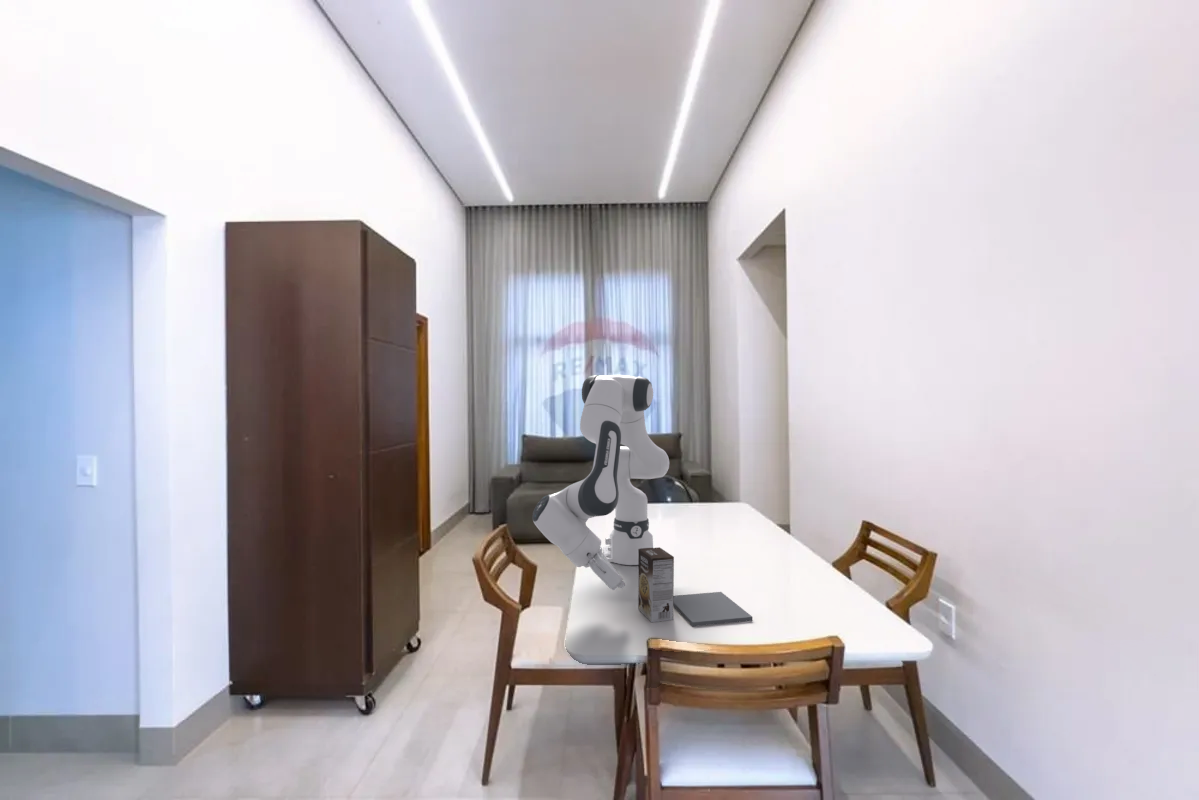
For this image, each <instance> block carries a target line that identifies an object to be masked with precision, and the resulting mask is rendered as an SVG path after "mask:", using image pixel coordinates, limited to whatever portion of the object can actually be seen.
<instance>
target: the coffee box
mask: <svg viewBox="0 0 1199 800" xmlns="http://www.w3.org/2000/svg"><path fill="white" fill-rule="evenodd" d="M638 553H639V557H638V565H637V566H638V590H637V591H638V597H637V598H638V603H637V604H638V611H640V612H641V613H642V614H643V616H645V618H646V619H647V620H648V621H650V622H651V623H659V622H664V621H673V620H674V606H673V596H674V587H675V586H674V583H675V582H674V579H675V578H674V577H675V574H674V573H675V572H674V571H675V569H674V568H675V560H674V559H675V556H673V555H672V554H670V553H669V552H667V551H666V550H664V549H663V548H661V547H653V548H641V549H638Z"/></svg>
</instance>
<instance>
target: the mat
mask: <svg viewBox="0 0 1199 800" xmlns="http://www.w3.org/2000/svg"><path fill="white" fill-rule="evenodd" d="M673 608H674V609H675V610H676V611H677V612H678V613H679V614H680V615H681V616H682V617H683V619H685V620H686V621H687V622H688V623H689V624H690V625H691V627H702V626H712V625H722V624H734V623H742V622H752V621H753V616H752V614H749V612H747V611H746V610H745V609H743V608H742V607H741V606H740V605H738V604H737V603H736V602H735V601H734V600H732V599H731V598H729V597H728V596H727V595H726V594H725V593H723V592H722V591H714V592H702V593H701V592H700V593H689V594H688V593H687V594H679V595H678V594H677V595H676V594H675V595H673Z"/></svg>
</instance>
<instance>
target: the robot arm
mask: <svg viewBox="0 0 1199 800" xmlns="http://www.w3.org/2000/svg"><path fill="white" fill-rule="evenodd" d="M581 387H582V388H581V398H582V402H583V404H584V406H583V409H582V412H581V416H580V421H579V422H580V423H579V426H580V427H579V429H580V432H581V434H582V435H583V436H584V438H585V439H586V440H588V441H589V442H591V443H593V444H595V451H594V457H593V463H592V469H591V471H590V473H589V474H588V475H587V476H586V477H585V478H583V479H582V480H579V481H576V482H574V483H572V484H570V485H568V486H566V487H565V488H563V489H561V490H560V491H557V492H555V493H552V494H547V495H544V496H543V497H542V498H541V499H540V500H539V502H537V503H536V505H535V508H534V510H533V511H532V516H531V517H532V521H533V524H534V525H535V526H536V528H537V530H539V532H540V533H542V535H543V536H544V537H545V538H546V539H547V540H548V541H549V542H550V543H551V544H553V545H555V546H556V547H558V548H559V549H560V551H561V552H562V554H563V555H564V556H565V557H566V558H567V559H568V560H569V561H570V562H571V563H572V564H573V565H574V566H575V567H577V568H581V567H584V568H585V569H586V568H589V567H590V569H591V570H592V572H593V573H594V574H595V576H597V577H598V578H599V579H600V580H601V581H602V583H604V584H605V586H607V587H608V588H609V589H611V590H612V591H615V590H616V589H617V588H619V589H620V590H622V589H623V588H624V586H625V585H626V582H624V579H623V577H622V576H621V574H619V571H617V569H616V568H615V567H614V566H613V564H612V563H615V564H618V565H623V566H625V565H626V566H638V557H639V553H638V549H641V548H654V535H653V534H652V533H651V532H650V531H649V529H650V520H649V518H648V497H647V495H646V493H644V492H643V490H641V489H639V488H637V487H635V486H634V485H633V484H632V482H631V480H632V479H633V480H635V479H636V480H638V479H640V480H651V479H660V478H663V477H665V475H666V474H667V473H668V470H669V469H670V459H669V456H668V454H667V452H666V451H665V450H664V449H663V448H661V447H659V446H658V445H657V444H655V442H654V441H653V440H652V439H651V438H650V436H649V434H648V432H647V427H646V420H645V411H646V410H647V409H649V408H650V406H651V404H652V402H653V399H654V390H653V385H652V382H651V381H650V380H649V379H648V378H646V377H643V376H633V375H624V374H610V375H609V374H608V375H605V374H603V375H599V374H595V375H589V376H588V377H587V378H586V379H585V380H584V381H583V383H582V386H581ZM614 510H615V516H614V519H613V520H614V521H613V530H612V531H611V533H610V534H609V537H606V538H605V540H604V541H605V542H604V543H605V545H607V546H604V547H603V548H602V546H601V545H602V540H601V539H600V538H599V537H598V536H597V534H596V533H594V532H593V531H592V530H591V529H590V528H589V527H588V526H587V522H588V520H589V519H592V518H595V517H603V516H604V517H605V516H607V515H609V514H611V513H612V512H613V511H614Z"/></svg>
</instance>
